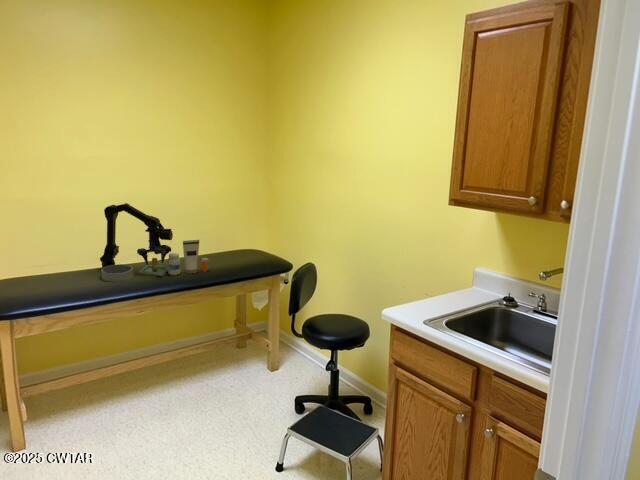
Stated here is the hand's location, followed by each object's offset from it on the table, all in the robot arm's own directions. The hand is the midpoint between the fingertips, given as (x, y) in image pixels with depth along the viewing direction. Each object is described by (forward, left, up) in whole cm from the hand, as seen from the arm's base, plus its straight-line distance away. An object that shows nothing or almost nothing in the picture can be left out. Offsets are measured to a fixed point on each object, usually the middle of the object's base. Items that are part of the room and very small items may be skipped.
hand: (154, 263), depth 271 cm
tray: (0, 0, -6) cm, 6 cm away
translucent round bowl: (-16, -14, -6) cm, 22 cm away
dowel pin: (0, 0, -5) cm, 5 cm away
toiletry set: (+18, +7, -6) cm, 21 cm away
